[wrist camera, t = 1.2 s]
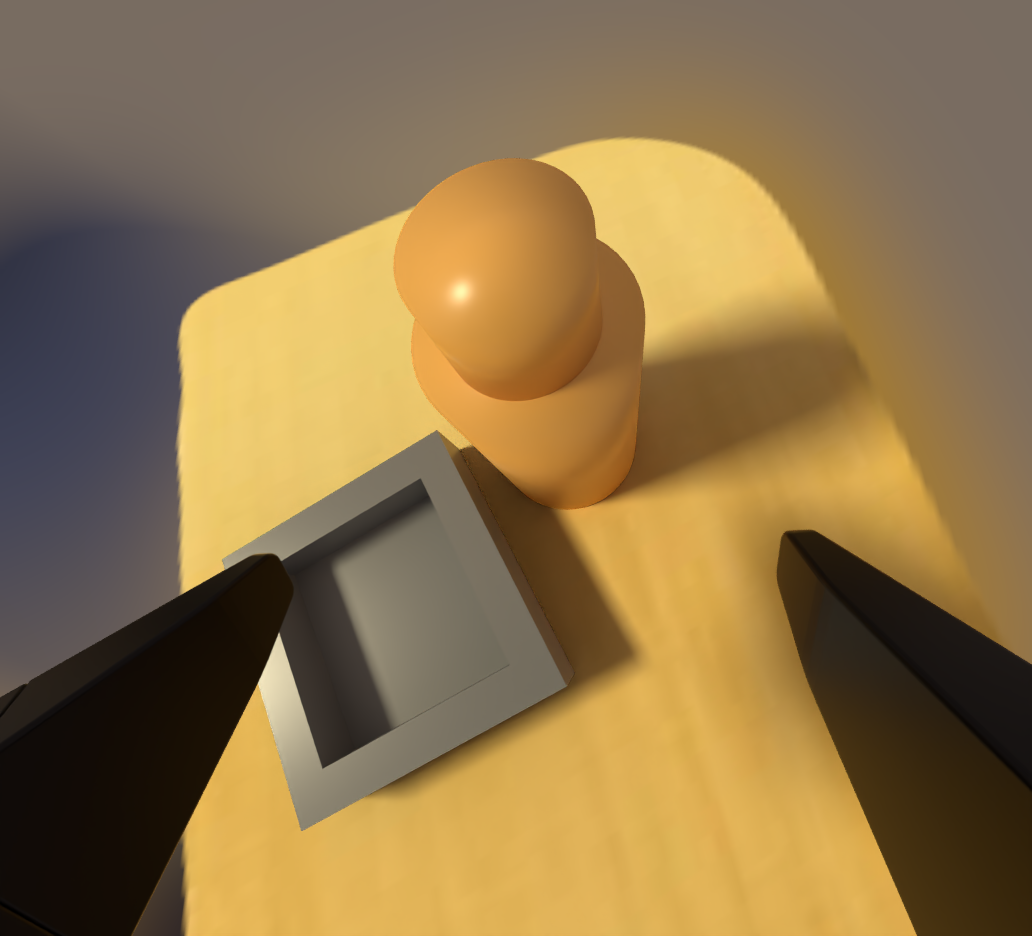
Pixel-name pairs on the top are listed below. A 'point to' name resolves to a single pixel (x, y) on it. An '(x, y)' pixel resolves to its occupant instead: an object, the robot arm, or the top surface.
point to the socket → (397, 629)
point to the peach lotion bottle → (525, 328)
